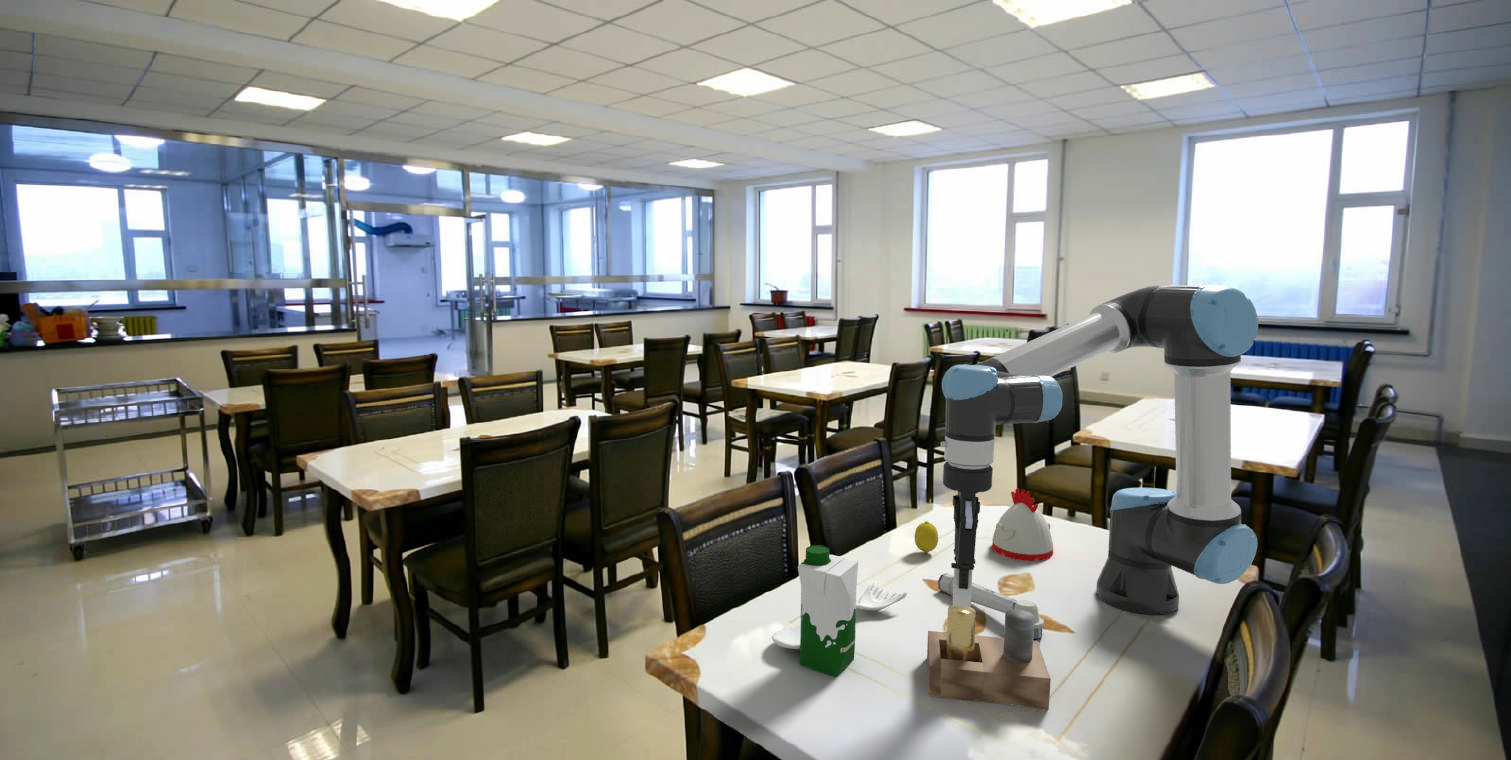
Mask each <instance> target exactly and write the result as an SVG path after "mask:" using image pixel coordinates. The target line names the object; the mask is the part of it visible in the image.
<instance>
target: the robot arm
mask: <svg viewBox="0 0 1511 760" xmlns="http://www.w3.org/2000/svg"><path fill="white" fill-rule="evenodd" d="M1258 319H1259V318H1258V314H1257V310H1256V308H1255V304H1254V303H1253V302H1252V300H1251V298H1250V297H1248V296H1246V294H1245V292H1243V291H1242V290H1239V289H1238V288H1235V287H1231V286H1229V287H1228V286H1221V285H1216V284H1203V285H1202V284H1192V285H1190V284H1187V285H1186V284H1184V285H1183V284H1178V285H1177V284H1174V285H1170V284H1158V285H1157V284H1156V285H1151V286H1146V287H1143V288H1142V287H1141V288H1139V289H1136V290H1133V291H1131V292H1128V293H1125V294H1122V295H1120V296H1118V297H1115V298H1113V299H1110V300H1108V301H1105V302H1103V303H1101V304H1098V305H1096V306H1095V307H1093V308H1092V309H1091V310H1090V312H1089V315H1087V316H1085V317H1082V318H1079V319H1078V320H1076V321H1074V322H1071V323H1068V324H1066V325H1063V326H1061V327H1059V328H1057V329H1055V330H1052V331H1050V332H1048V333H1046V334H1043V335H1040V336H1039V337H1037V338H1034V339H1032V340H1029V341H1028V342H1025V343H1023V344H1020V345H1018V346H1016V347H1013V348H1011V349H1009V350H1006V351H1004V352H1002V353H999V354H997V355H995V356H992V357H991V358H988V359H986V360H983V361H980V362H978V363H976V364H967V363H965V364H955V365H953V366H951V367H950V368H949V369H947V370H946V372H945V373H944V375H943V377H942V379H941V389H942V390H941V391H942V393H943V397H945V419H944V420H945V422H944V423H945V424H944V429H945V430H944V435H945V436H944V441H941V442H940V447H941V448H944V456H943V457H944V460H945V462H944V464H943V470H942V484H943V486H944V487H945V488H947V489H948V490H952V491H954V492H955V491H957V494H954V495H952V506H953V521H954V548H953V554H954V557H953V560H954V562H951V563H950V564H951V565H950V568H951V569H953V575H954V585H953V597H952V605H954V606H965V607H971V608H972V602H971V587H972V583H973V581H972V580H973V571H974V569H975V565H976V563H977V561H976V559H975V556H976V555H975V554H976V553H975V551H976V541H977V530H978V526H979V525H978V524H979V513H980V512H981V502H980V501H979V500H980V499H979V498H980V497H979V496H976V494H979V493H985V492H988V491H990V490H991V488H992V486H993V471H994V470H993V469H994V468H993V466H992V465H991V464H993V463H994V459H995V458H994V457H995V440H996V439H995V432H996V426H998V425H1010V424H1026V423H1028V424H1029V423H1034V424H1037V423H1040V422H1046V421H1051V420H1053V419H1055V418H1056V417H1057V416H1058V415H1059V413H1060V412H1061V410H1062V407H1063V397H1064V396H1063V391H1062V388H1061V386H1060V384H1059V382H1058V381H1057V380H1056V379H1054V378H1053V376H1055V375H1058V374H1060V373H1062V372H1065V371H1067V370H1069V369H1071V368H1074V367H1076V366H1078V365H1080V364H1082V363H1085V362H1087V361H1089V360H1092V359H1094V358H1097V356H1100V355H1102V354H1105V353H1107V352H1109V353H1115V354H1116V353H1120V352H1123V351H1124V350H1126V349H1131V348H1139V347H1140V348H1143V347H1144V348H1145V347H1147V348H1148V347H1150V348H1159V349H1163V351H1164V353H1163V355H1164V356H1163V357H1164V359H1163V360H1164V361H1163V362H1164V364H1165V365H1166V366H1167V367H1168V368H1169V369H1171V370H1172V371H1173V373H1174V374H1173V375H1174V377H1173V378H1174V379H1173V380H1174V382H1173V383H1174V425H1175V427H1174V428H1175V431H1174V432H1175V433H1174V435H1175V477H1176V478H1175V480H1176V481H1175V483H1176V485H1175V487H1176V492H1175V491H1172V490H1168V489H1164V488H1155V487H1126V488H1122V489H1119V490H1117V491H1115V493H1113V496H1112V500H1111V506H1110V509H1109V511H1110V514H1109V517H1110V518H1109V530H1108V531H1109V532H1108V554H1107V558H1106V561H1105V563H1104V565H1103V568H1102V570H1101V572H1100V574H1099V576H1098V578H1097V581H1096V587H1095V588H1096V589H1095V592H1096V595H1097V596H1098V597H1099V599H1101V600H1102V601H1104V602H1105V603H1106V604H1108V605H1111V606H1113V607H1115V608H1118V609H1121V610H1124V611H1127V612H1128V611H1129V612H1132V613H1137V614H1142V615H1143V614H1145V615H1165V614H1166V615H1167V614H1171V613H1174V612H1175V611H1176V610H1177V609H1178V608H1179V604H1180V603H1179V602H1180V594H1179V591H1178V586H1177V582H1176V580H1175V576H1174V573H1173V568H1172V567H1175V568H1176V569H1179V570H1181V571H1183V572H1186V573H1189V574H1191V575H1193V576H1195V577H1196V578H1197V579H1200V580H1205V581H1208V582H1211V583H1214V584H1217V585H1225V584H1230V583H1231V582H1234V581H1236V580H1238V579H1239V578H1241V577H1242V576H1243V575H1244V574H1245V573H1246V571H1247V570H1249V568H1250V566H1251V565H1252V563H1253V560H1254V559H1255V556H1256V554H1257V549H1258V538H1257V534H1256V533H1255V532H1254V530H1253V529H1252V528H1250V527H1249V526H1248V525H1246V524H1242V509H1241V507H1240V505H1239V504H1238V503H1236V502H1235V501H1234V500H1233V499H1232V464H1231V463H1232V458H1231V457H1232V456H1231V455H1232V454H1231V453H1232V451H1231V449H1232V446H1231V445H1232V443H1231V441H1232V437H1231V434H1232V433H1231V432H1232V431H1231V430H1232V428H1231V425H1232V424H1231V423H1232V422H1231V421H1232V420H1231V417H1232V415H1231V413H1232V412H1231V409H1232V408H1231V405H1232V403H1231V402H1232V401H1231V397H1232V396H1231V394H1232V393H1231V384H1232V383H1231V373H1232V370H1233V369H1234V368H1235V367H1236V366H1237V365H1238V366H1239V365H1240V364H1241V360H1242V358H1241V357H1242V356H1241V355H1243V354H1245V353H1247V352H1248V351H1249V350H1250V349H1251V347H1252V346H1253V344H1254V339H1256V338H1257V336H1258V330H1259V320H1258Z"/></svg>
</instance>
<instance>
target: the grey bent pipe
mask: <svg viewBox="0 0 1511 760" xmlns="http://www.w3.org/2000/svg"><path fill="white" fill-rule="evenodd" d="M953 585H954V574H950V573H947V572H946V573H943V574H941V575H940V576H939V578H938V580H937V589H939V590H940V591H941V592H943V593H945V594H948V595H950V597H952V598H953ZM971 603H973V604H976V605H979V606H983V607H985V608H989V609H991V610H994V611H998V612H1001V613H1003V614H1005V613H1006V611H1008V610H1012V609H1018V610H1024V611H1027V612H1029V613H1031V614H1032V615H1033V616H1034V633H1033V640H1034V639H1040V638H1042V637H1043V627H1044V626H1045V620H1044V619H1043V618H1041V617H1040V614H1039V608H1038V605H1037V604H1036V603H1035V602H1034V601H1031V600H1017V599H1016V598H1012V597H1009V596H1008V595H1005V594H1003V593H1000V592H998V591H995V590H993V589H990V588H987V587H985V586H982V585H981V584H977V583H974V582H972V587H971Z"/></svg>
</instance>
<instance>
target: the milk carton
mask: <svg viewBox="0 0 1511 760" xmlns="http://www.w3.org/2000/svg"><path fill="white" fill-rule="evenodd" d="M858 570H859V560H854V559H850V558H846V557H844V556H840V555H839V556H838V555H834V554H830V548H829V547H827V546H825V545H819V544H818V545H817V544H813V545H809V546H807V547H806V548H805V559H804V560H803V562H801V563H800V564H799V565H798V566H797V571H798V576H799V581H800V582H799V583H800V625H801V637H800V649H799V666H800V667H803V668H807V669H808V670H809V669H810V670H813V671H817V672H820V673H823V674H826V675H828V676H833V677H835V678H838V677H839V676H840V675H841V673H842V672H843V671H844V670H845V669H846V668H847V667H848V666H849V665H850V664H851V663H852V661H854V660H855V650H856V649H855V648H856V623H857V622H856V619H857V617H856V616H857V608H856V603H857V585H858V584H857V583H858V581H857V580H858Z"/></svg>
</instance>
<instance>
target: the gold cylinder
mask: <svg viewBox="0 0 1511 760" xmlns="http://www.w3.org/2000/svg"><path fill="white" fill-rule="evenodd" d="M976 618H977V612H976V609H974V608H973V607H972V606H971V607H965V606H954V605H953V604H952V605H950V606H948V608H947V624H946V632H947V646H946V659H949V660H959V661H969V662H974V643H975V635H976Z"/></svg>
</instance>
